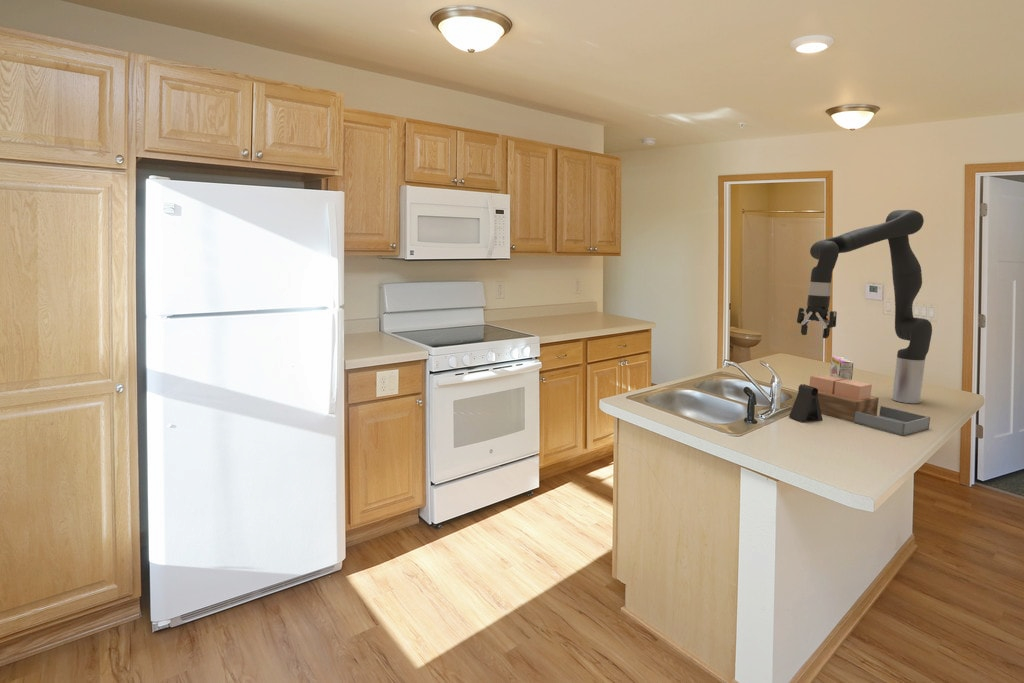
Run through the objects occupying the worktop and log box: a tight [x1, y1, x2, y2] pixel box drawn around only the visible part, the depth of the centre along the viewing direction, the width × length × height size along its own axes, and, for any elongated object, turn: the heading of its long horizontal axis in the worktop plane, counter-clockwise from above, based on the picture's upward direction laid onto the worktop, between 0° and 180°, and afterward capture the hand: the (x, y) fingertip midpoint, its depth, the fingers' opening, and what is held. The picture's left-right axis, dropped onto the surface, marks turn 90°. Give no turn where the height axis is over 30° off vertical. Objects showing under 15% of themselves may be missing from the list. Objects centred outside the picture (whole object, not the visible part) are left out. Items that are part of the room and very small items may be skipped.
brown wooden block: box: [818, 391, 880, 423], centre depth 213 cm, size 14×20×7 cm
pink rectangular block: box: [808, 373, 845, 394], centre depth 216 cm, size 7×9×5 cm
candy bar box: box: [829, 356, 854, 380], centre depth 230 cm, size 11×5×16 cm, turn 168°
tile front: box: [834, 379, 873, 400], centre depth 208 cm, size 7×9×5 cm
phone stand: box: [788, 383, 823, 423], centre depth 203 cm, size 9×6×12 cm, turn 104°
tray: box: [853, 405, 931, 437], centre depth 197 cm, size 16×16×4 cm
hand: (814, 336), depth 222 cm, fingers open, 8 cm apart
